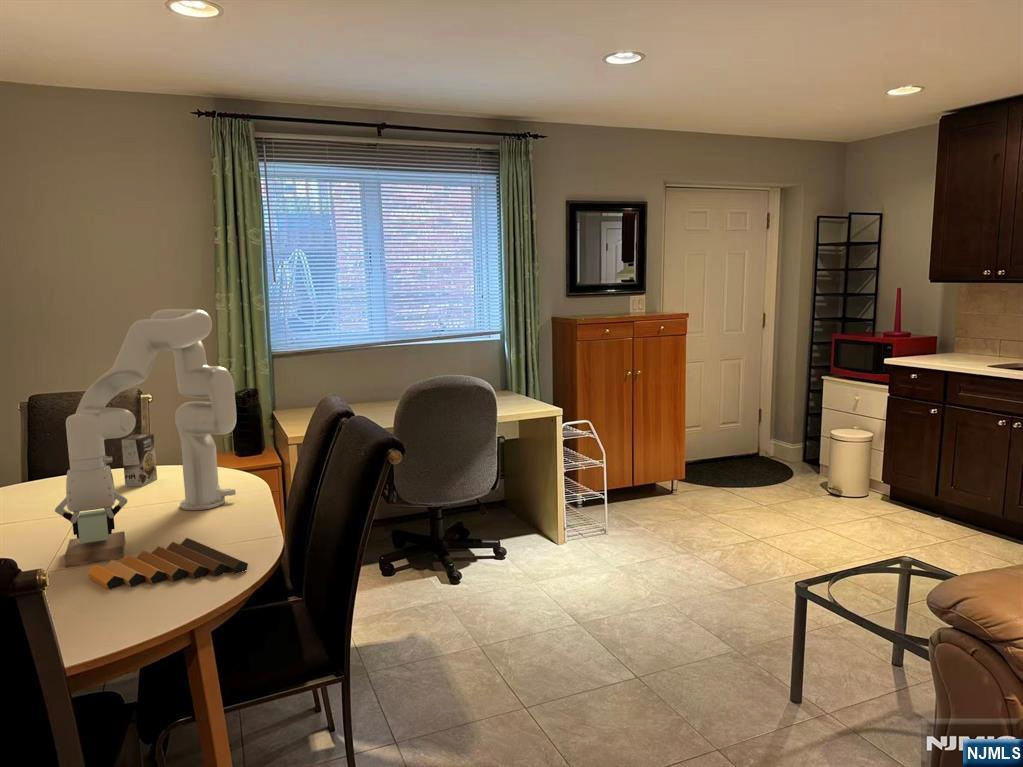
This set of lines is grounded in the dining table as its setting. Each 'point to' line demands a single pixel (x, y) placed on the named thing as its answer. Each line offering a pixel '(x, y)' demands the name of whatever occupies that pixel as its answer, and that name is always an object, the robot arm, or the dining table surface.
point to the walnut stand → (95, 550)
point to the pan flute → (166, 565)
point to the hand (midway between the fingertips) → (94, 534)
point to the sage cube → (92, 526)
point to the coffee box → (139, 460)
